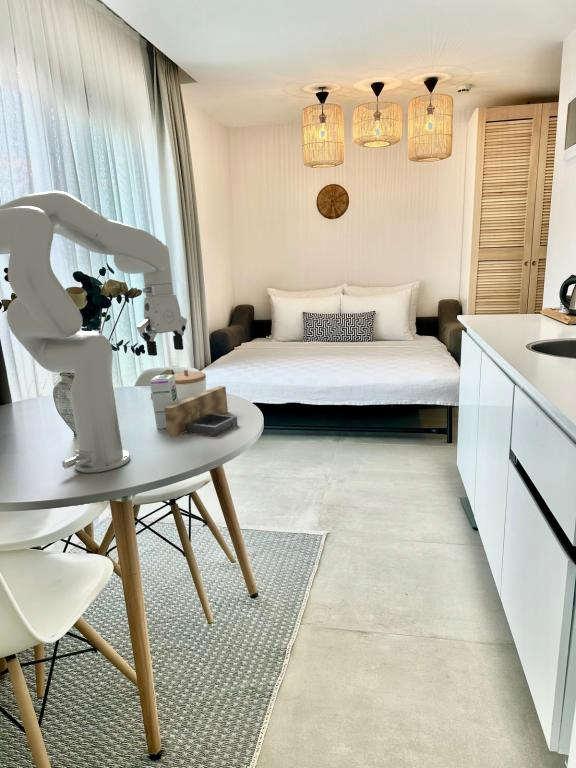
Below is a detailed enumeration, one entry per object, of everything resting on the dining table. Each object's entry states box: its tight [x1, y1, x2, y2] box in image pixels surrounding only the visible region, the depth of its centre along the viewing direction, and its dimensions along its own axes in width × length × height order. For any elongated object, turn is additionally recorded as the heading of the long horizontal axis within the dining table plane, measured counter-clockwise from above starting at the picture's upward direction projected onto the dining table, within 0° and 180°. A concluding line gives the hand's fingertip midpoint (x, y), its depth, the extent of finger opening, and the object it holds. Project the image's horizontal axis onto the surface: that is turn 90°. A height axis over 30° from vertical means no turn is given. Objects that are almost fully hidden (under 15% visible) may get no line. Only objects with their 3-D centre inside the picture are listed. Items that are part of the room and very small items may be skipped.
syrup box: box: [149, 374, 178, 430], centre depth 149 cm, size 6×6×14 cm
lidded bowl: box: [173, 369, 207, 402], centre depth 174 cm, size 13×13×11 cm
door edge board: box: [164, 385, 229, 437], centre depth 151 cm, size 24×3×8 cm, turn 150°
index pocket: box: [186, 413, 238, 437], centre depth 145 cm, size 10×10×2 cm
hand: (166, 352), depth 148 cm, fingers open, 9 cm apart
